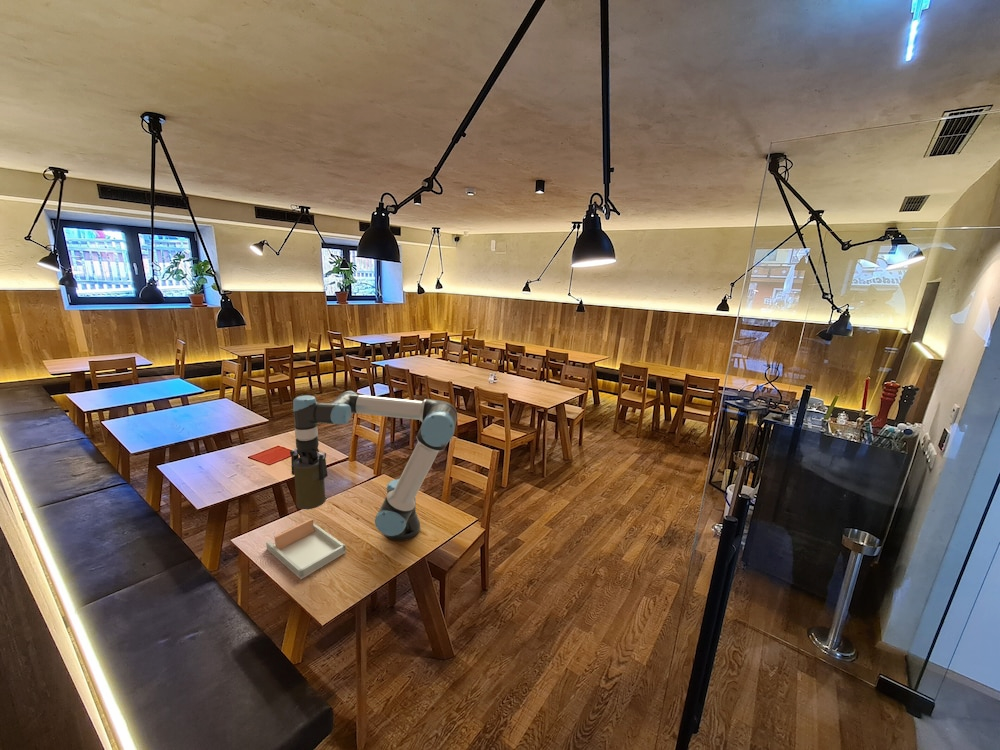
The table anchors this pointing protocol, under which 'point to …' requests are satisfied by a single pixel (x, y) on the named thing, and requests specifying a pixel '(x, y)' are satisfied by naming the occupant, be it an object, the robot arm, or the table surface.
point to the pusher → (294, 534)
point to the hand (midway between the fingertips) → (310, 492)
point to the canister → (308, 484)
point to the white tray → (308, 552)
